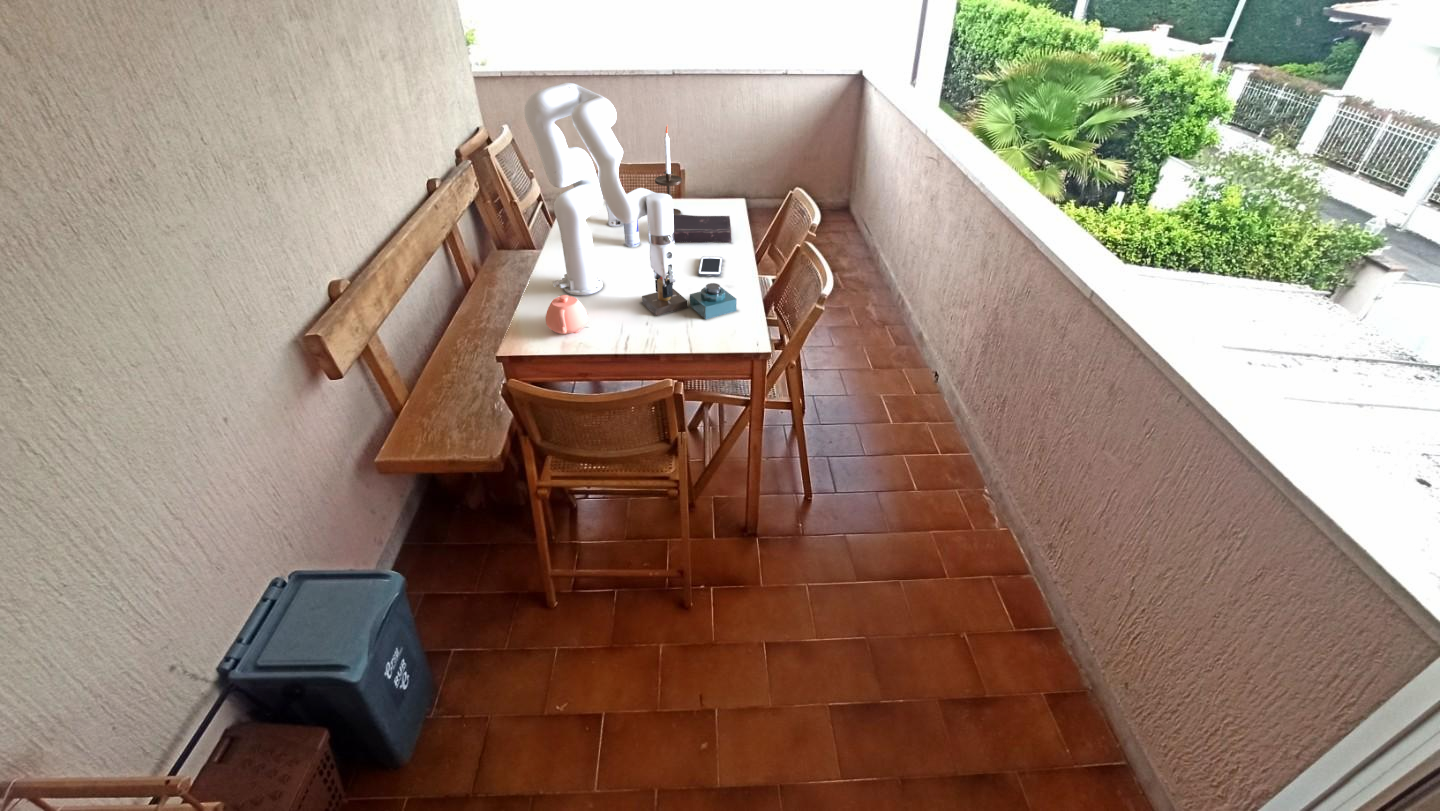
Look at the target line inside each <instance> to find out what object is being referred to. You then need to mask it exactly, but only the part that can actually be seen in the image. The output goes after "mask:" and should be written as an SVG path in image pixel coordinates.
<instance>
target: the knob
mask: <svg viewBox="0 0 1440 811" xmlns="http://www.w3.org/2000/svg"><path fill="white" fill-rule="evenodd" d="M656 280H657V279H656ZM667 280H669V278H666V281H667ZM662 286H664V285H663V279H662V277H660V278H659V279H658V280H657V288H658V299H659V300H661V301H667V300H670V299H671V297H668V298H663V291H662Z"/></svg>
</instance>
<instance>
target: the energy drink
mask: <svg viewBox="0 0 1440 811" xmlns="http://www.w3.org/2000/svg"><path fill="white" fill-rule="evenodd" d="M623 234H624V235H623V236H624V242H625V243H624V244H625V246H626V247H627V248H636V247H639V245H640V242H641V241H640V230H639V219H638V220H636V221H634V222H632V223H629V224H625V223H623Z"/></svg>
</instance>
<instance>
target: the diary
mask: <svg viewBox="0 0 1440 811" xmlns="http://www.w3.org/2000/svg"><path fill="white" fill-rule="evenodd" d="M673 222H674V243H673V244H675V243H691V244H693V243H694V244H695V243H696V244H699V243H701V244H702V243H705V244H706V243H725V244H727V243H732V228H731V227H732V226H731V216H730V215H690V214H681V215H673Z"/></svg>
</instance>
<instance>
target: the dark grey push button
mask: <svg viewBox="0 0 1440 811" xmlns="http://www.w3.org/2000/svg"><path fill="white" fill-rule="evenodd" d="M705 287H706V294H709V295H717V294H719V293H720V287H721V285H720V284H719V283H715V282H711V283H707V284H706V285H705Z"/></svg>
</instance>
